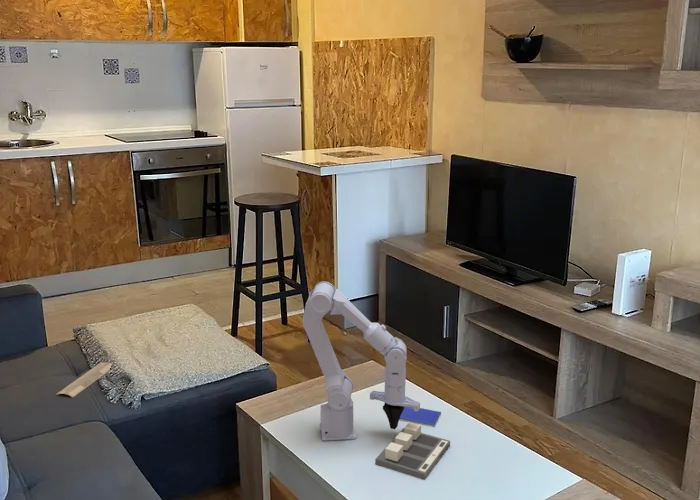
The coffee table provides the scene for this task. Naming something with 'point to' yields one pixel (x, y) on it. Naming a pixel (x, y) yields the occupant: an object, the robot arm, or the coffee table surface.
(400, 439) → the tab
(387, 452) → the tab
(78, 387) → the tan wooden bar
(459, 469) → the coffee table surface
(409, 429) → the tab
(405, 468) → the switch bank
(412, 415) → the hard drive
